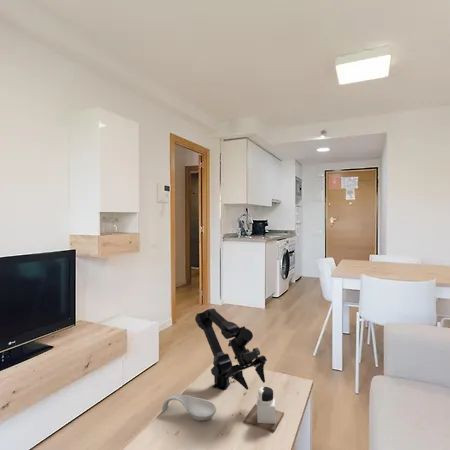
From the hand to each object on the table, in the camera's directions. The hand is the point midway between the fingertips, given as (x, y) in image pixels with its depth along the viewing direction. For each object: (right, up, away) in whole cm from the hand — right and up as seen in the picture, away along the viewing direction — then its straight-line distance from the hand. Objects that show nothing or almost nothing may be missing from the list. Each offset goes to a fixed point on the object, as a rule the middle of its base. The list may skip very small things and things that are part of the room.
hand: (256, 385), depth 134 cm
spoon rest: (-28, -13, +1) cm, 31 cm away
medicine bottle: (+4, -11, -5) cm, 13 cm away
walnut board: (+3, -12, -3) cm, 13 cm away
